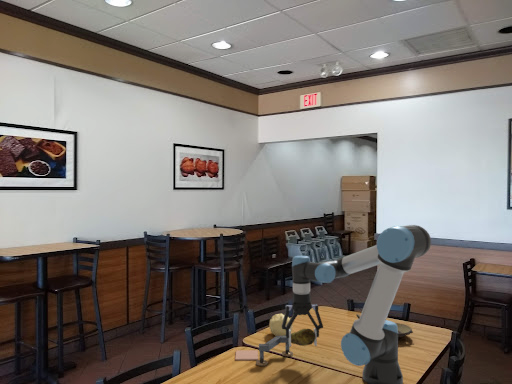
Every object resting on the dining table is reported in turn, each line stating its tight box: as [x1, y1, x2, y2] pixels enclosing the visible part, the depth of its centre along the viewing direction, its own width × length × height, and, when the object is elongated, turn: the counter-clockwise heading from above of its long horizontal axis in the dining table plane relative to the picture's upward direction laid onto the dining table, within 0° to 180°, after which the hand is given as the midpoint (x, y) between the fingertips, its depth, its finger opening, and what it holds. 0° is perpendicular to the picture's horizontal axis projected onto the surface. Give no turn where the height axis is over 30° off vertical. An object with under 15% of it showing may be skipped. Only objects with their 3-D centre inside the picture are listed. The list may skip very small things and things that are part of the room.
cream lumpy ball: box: [268, 313, 293, 337], centre depth 215 cm, size 12×12×11 cm
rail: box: [255, 336, 294, 367], centre depth 183 cm, size 7×21×8 cm, turn 133°
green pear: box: [291, 328, 316, 347], centre depth 176 cm, size 8×13×8 cm, turn 25°
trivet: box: [234, 349, 259, 361], centre depth 186 cm, size 10×10×1 cm
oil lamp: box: [356, 313, 414, 338], centre depth 214 cm, size 22×30×8 cm
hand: (302, 345), depth 175 cm, fingers closed on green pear, 10 cm apart
